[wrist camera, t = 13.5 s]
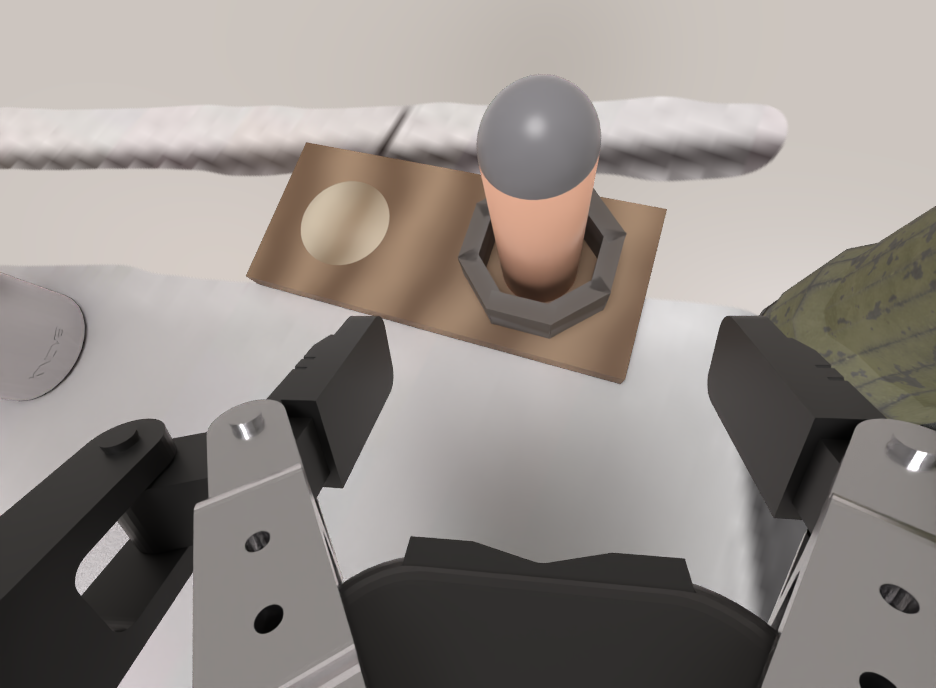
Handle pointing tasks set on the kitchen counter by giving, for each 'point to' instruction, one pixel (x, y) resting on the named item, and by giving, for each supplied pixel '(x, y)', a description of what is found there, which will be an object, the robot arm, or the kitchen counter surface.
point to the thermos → (874, 319)
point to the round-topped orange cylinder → (539, 181)
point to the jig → (453, 260)
